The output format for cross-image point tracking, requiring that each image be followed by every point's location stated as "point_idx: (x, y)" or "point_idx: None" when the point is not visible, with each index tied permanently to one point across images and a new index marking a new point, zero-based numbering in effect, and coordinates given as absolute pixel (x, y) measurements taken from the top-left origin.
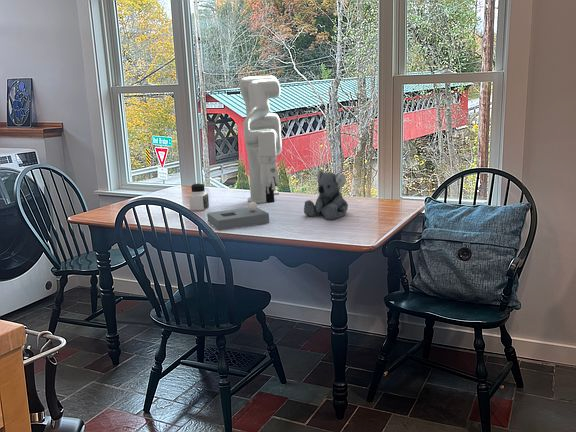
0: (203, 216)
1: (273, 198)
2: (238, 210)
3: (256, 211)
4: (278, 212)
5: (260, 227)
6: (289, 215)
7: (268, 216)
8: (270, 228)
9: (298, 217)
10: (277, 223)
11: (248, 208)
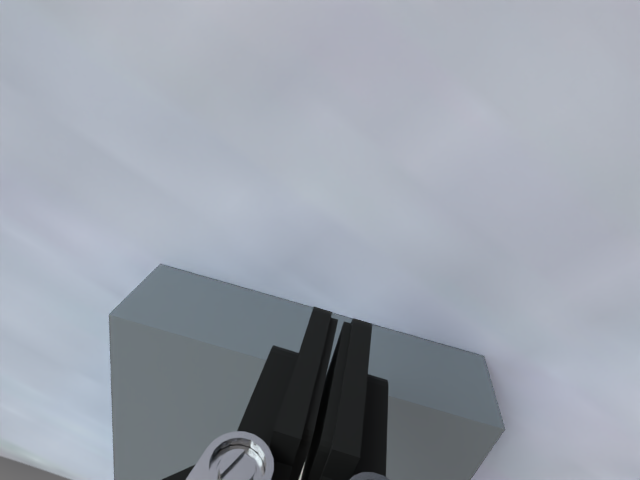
0: (3, 455)
1: (364, 373)
2: (176, 471)
3: None
4: (187, 21)
5: (532, 461)
6: (425, 21)
7: (495, 404)
8: (633, 448)
9: (623, 2)
10: (572, 332)
11: (155, 396)
